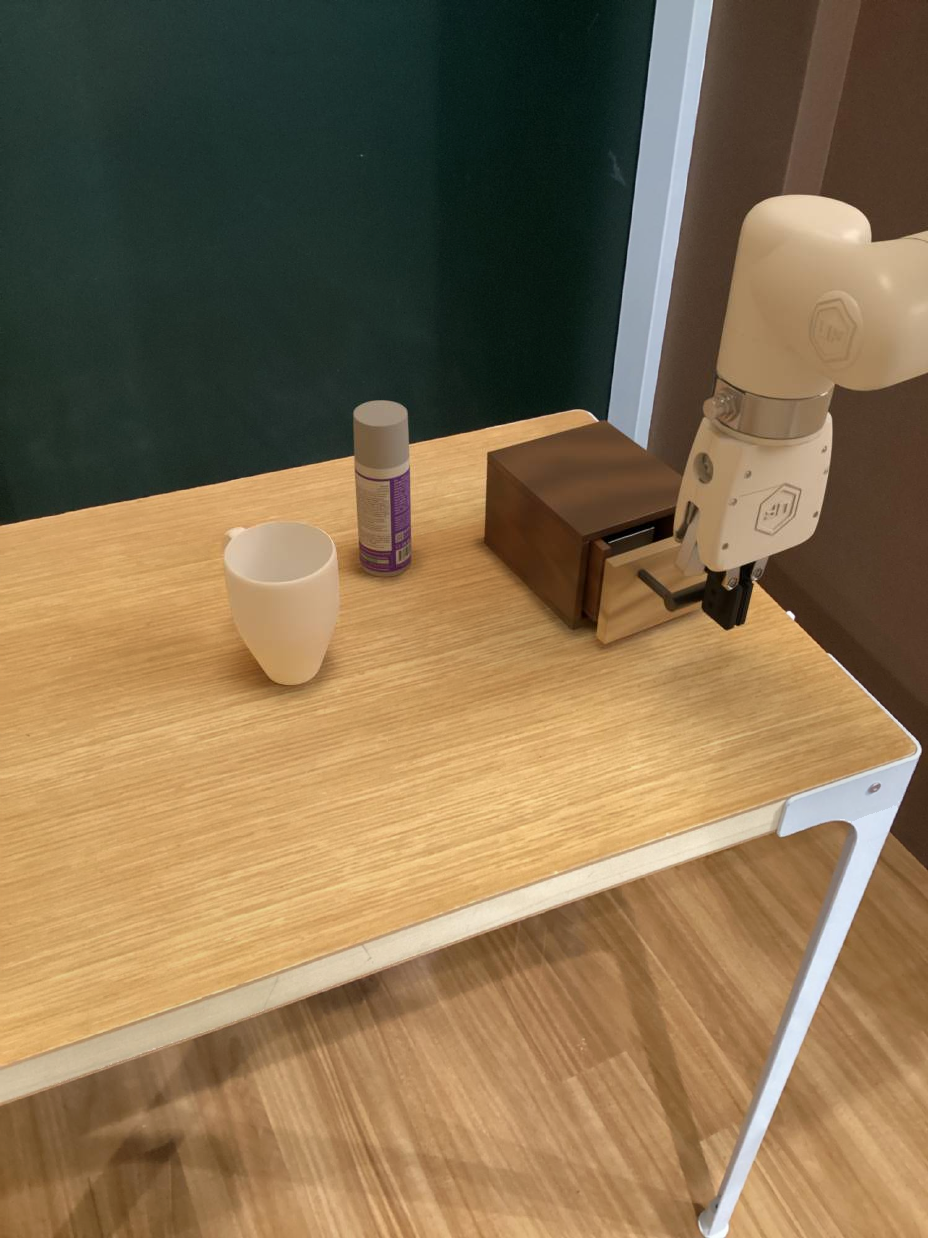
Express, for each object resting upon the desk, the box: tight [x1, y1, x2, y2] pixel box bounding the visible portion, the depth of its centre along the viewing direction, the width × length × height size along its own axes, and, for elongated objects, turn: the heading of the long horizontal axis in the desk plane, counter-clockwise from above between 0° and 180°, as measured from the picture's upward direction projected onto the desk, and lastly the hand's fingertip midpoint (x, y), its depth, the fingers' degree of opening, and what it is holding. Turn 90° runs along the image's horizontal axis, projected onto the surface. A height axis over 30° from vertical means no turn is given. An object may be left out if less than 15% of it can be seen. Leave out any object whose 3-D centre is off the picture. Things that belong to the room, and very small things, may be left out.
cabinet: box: [483, 419, 683, 631], centre depth 94 cm, size 15×13×10 cm
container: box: [352, 399, 412, 578], centre depth 92 cm, size 5×5×15 cm
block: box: [600, 522, 654, 558], centre depth 92 cm, size 5×5×5 cm
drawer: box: [582, 513, 708, 645], centre depth 89 cm, size 18×11×8 cm, turn 30°
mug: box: [221, 520, 341, 686], centre depth 83 cm, size 12×8×11 cm
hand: (722, 617), depth 81 cm, fingers closed
